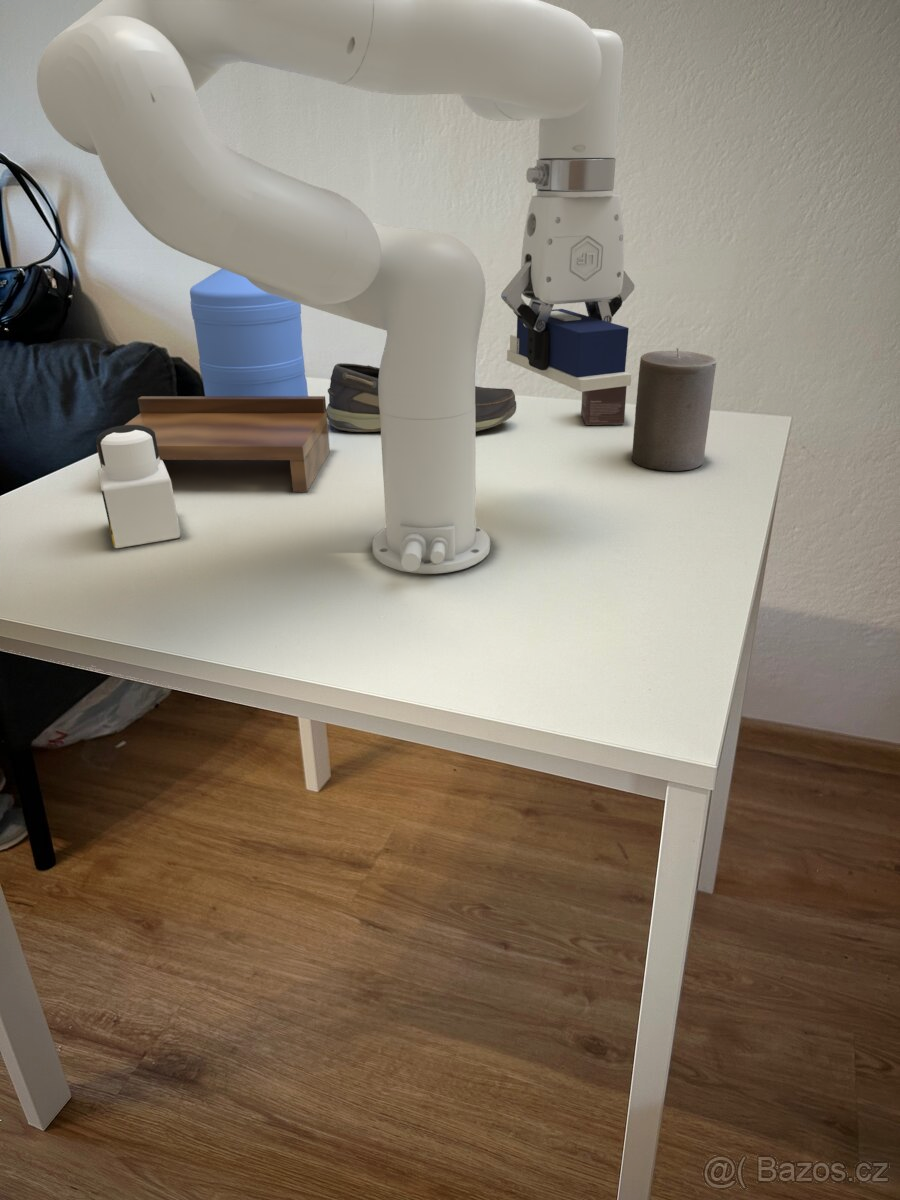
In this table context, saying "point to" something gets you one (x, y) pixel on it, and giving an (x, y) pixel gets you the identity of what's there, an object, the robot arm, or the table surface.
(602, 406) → the box
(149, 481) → the medicine bottle
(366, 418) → the boat shoe
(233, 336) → the water jug
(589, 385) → the blue block on tray
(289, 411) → the shelf
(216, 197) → the robot arm
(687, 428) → the pillar candle
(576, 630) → the table surface
